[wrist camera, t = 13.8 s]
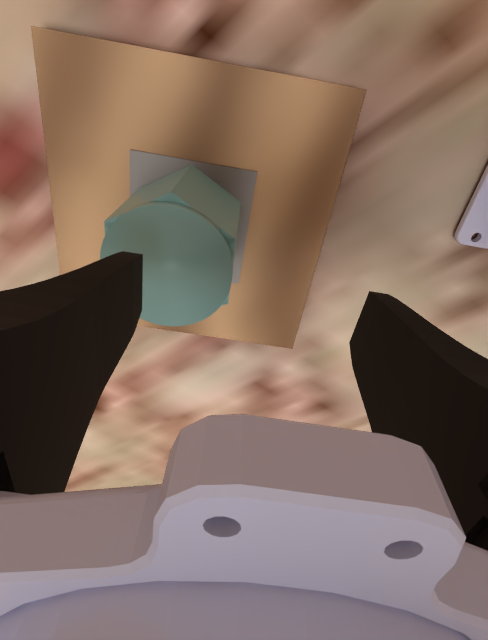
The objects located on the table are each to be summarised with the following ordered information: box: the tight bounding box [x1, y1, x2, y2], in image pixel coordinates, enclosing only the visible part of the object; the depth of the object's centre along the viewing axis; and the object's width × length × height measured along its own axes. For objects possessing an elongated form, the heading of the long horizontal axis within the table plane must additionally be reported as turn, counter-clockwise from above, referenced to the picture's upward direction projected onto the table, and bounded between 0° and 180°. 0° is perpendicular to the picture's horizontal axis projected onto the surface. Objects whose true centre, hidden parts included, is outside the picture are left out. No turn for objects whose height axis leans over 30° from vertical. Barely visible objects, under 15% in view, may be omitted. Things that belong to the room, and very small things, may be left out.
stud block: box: [31, 26, 367, 349], centre depth 18 cm, size 14×14×5 cm
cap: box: [100, 164, 241, 326], centre depth 17 cm, size 5×6×6 cm
